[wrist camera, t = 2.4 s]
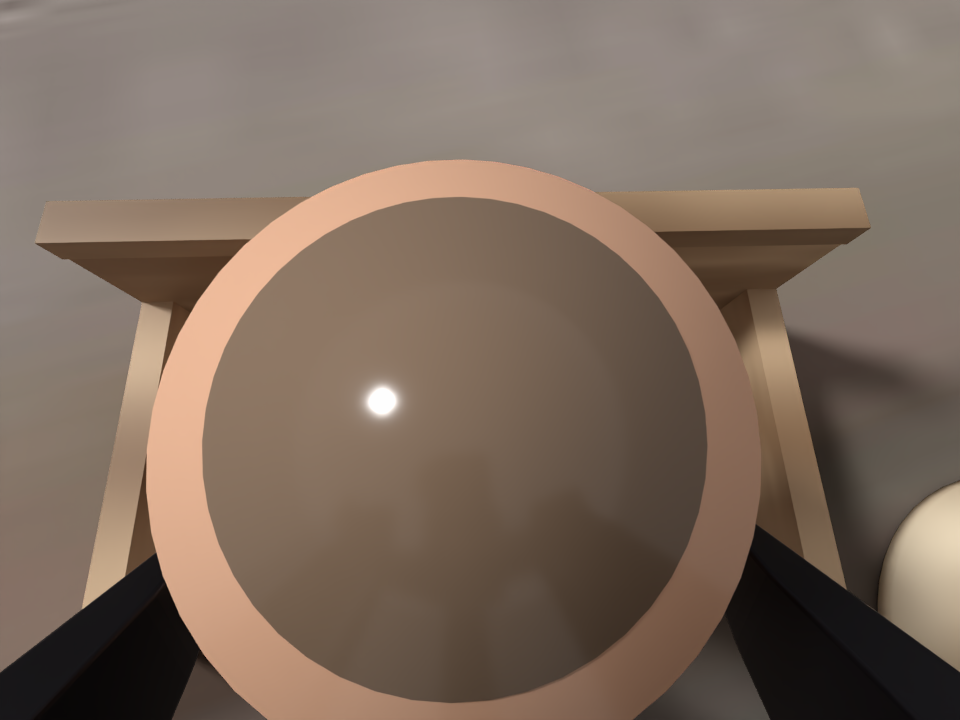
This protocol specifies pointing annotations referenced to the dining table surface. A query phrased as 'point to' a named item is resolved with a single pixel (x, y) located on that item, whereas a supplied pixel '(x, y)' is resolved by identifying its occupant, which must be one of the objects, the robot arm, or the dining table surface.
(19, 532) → the dining table surface
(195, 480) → the terracotta pot
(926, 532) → the cream flat disc
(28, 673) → the robot arm
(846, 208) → the cold frame
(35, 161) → the dining table surface
